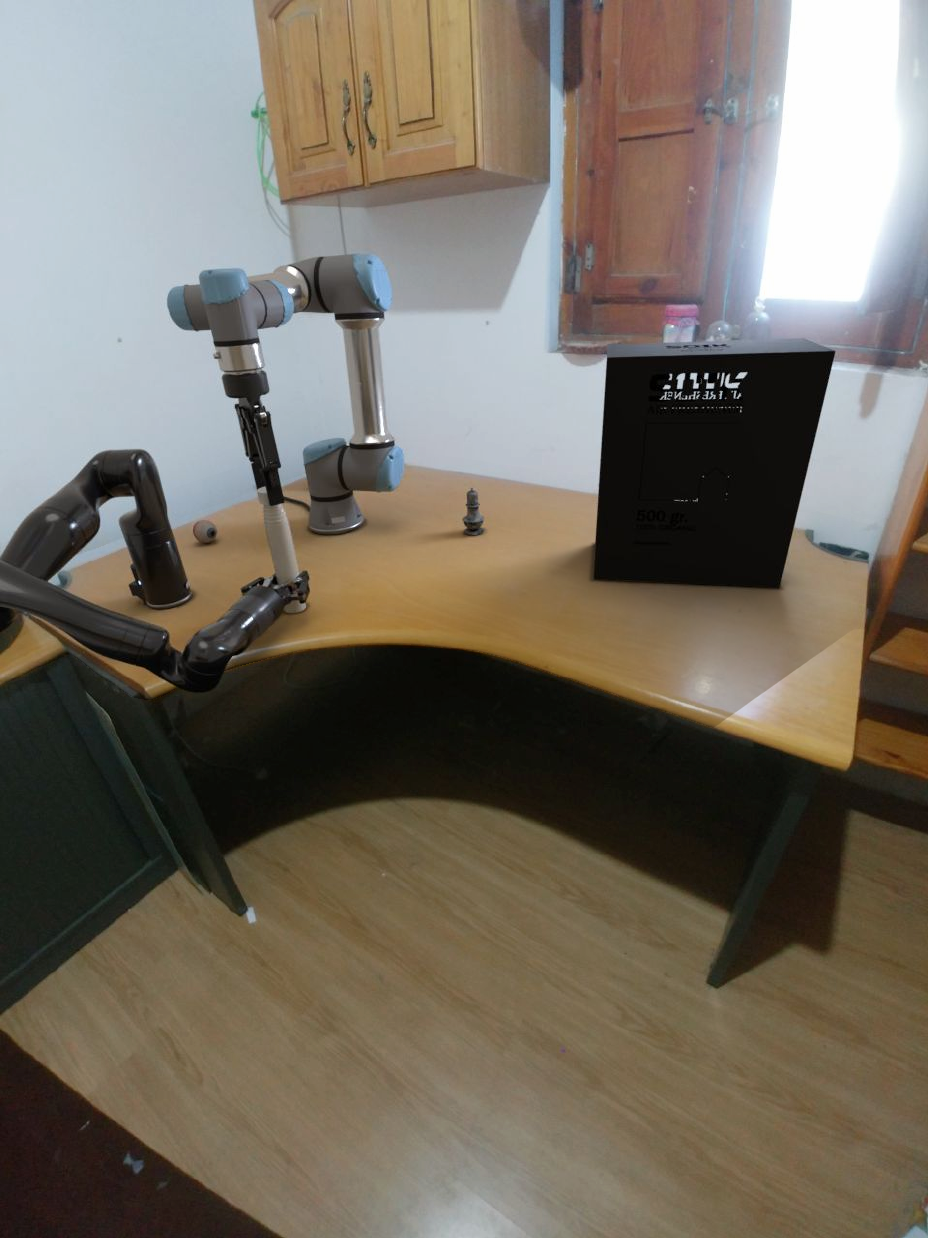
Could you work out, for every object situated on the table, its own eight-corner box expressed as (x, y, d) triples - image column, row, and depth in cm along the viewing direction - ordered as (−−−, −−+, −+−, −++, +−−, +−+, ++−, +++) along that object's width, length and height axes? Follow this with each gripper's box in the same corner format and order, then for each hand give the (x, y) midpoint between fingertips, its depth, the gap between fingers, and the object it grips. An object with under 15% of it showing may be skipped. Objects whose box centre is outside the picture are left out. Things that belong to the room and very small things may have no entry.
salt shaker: (482, 535, 157) (481, 491, 151) (460, 535, 158) (458, 490, 152) (486, 527, 162) (485, 483, 156) (465, 526, 163) (463, 483, 157)
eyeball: (206, 547, 159) (200, 526, 156) (191, 543, 162) (185, 522, 159) (225, 539, 164) (219, 518, 161) (210, 536, 167) (204, 515, 164)
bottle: (302, 613, 126) (277, 495, 113) (280, 613, 126) (253, 496, 113) (308, 602, 130) (285, 487, 117) (287, 602, 130) (261, 488, 117)
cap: (276, 495, 119) (274, 483, 118) (287, 499, 116) (285, 488, 115) (255, 500, 116) (252, 489, 115) (265, 506, 113) (263, 494, 112)
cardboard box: (759, 548, 141) (803, 338, 119) (779, 587, 124) (835, 350, 102) (595, 543, 149) (607, 344, 126) (593, 579, 132) (607, 357, 109)
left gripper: (224, 628, 116) (268, 587, 130) (293, 633, 113) (329, 591, 127) (214, 593, 112) (260, 556, 127) (285, 598, 109) (323, 559, 124)
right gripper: (207, 369, 110) (238, 491, 121) (236, 379, 96) (267, 517, 107) (248, 364, 113) (274, 484, 125) (282, 373, 99) (307, 507, 111)
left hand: (294, 574), depth 127 cm, fingers closed on bottle, 4 cm apart
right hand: (271, 499), depth 116 cm, fingers open, 6 cm apart
